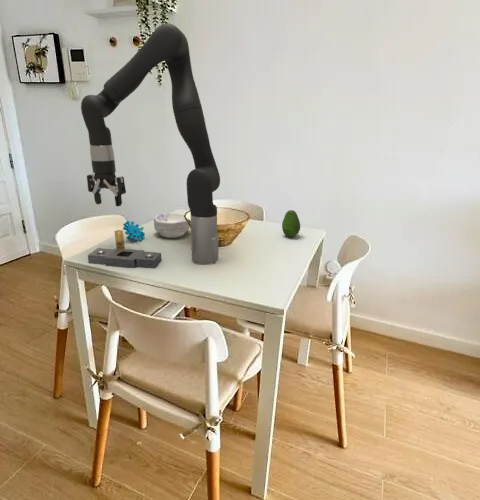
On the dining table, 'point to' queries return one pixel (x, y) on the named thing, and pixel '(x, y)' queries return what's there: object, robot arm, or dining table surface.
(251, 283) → the dining table surface
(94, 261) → the grey block with hole
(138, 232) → the gear
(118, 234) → the pin
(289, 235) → the avocado
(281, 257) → the dining table surface
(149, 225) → the dining table surface
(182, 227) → the paper bowls
